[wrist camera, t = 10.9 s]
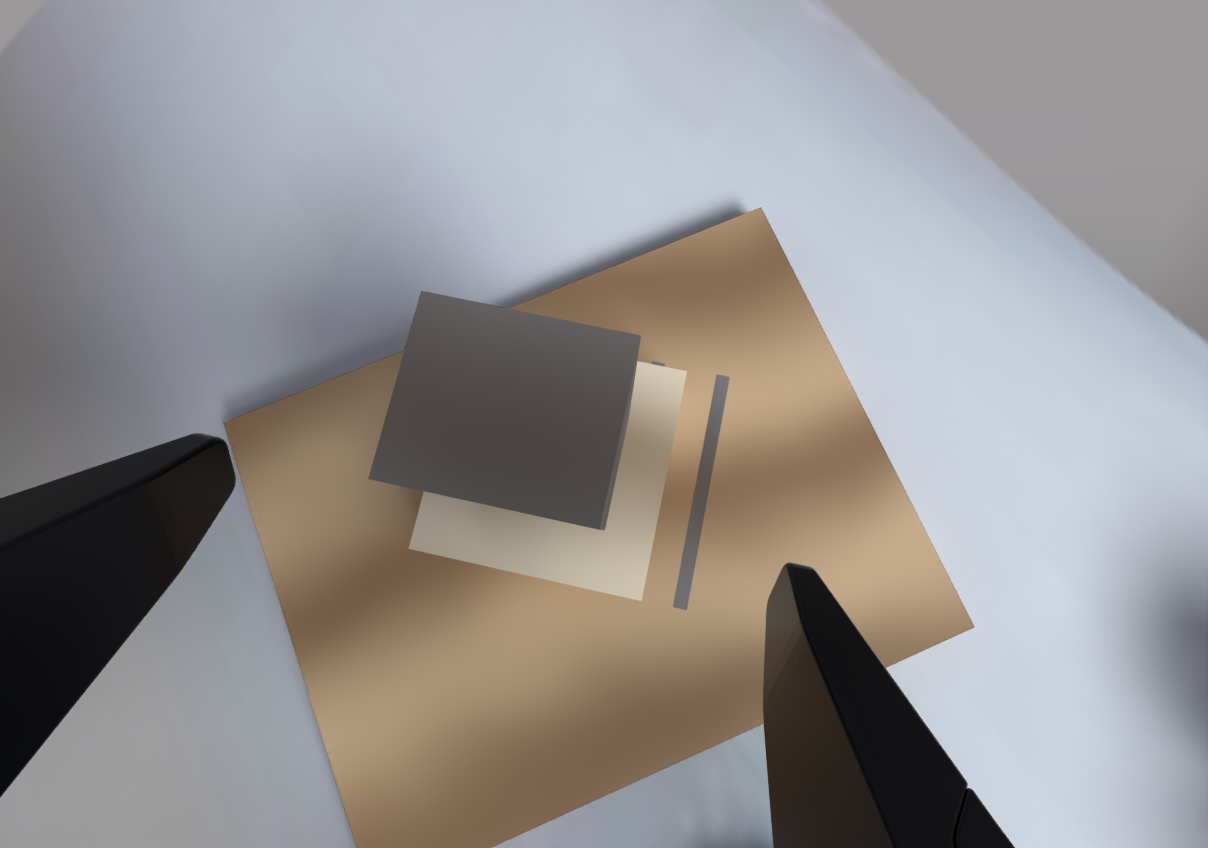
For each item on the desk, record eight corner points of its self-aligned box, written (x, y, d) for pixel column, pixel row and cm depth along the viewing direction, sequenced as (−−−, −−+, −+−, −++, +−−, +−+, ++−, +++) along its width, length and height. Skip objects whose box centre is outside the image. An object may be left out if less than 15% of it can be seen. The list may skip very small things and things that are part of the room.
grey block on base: (637, 591, 17) (664, 656, 8) (436, 546, 18) (256, 562, 9) (677, 392, 18) (738, 261, 9) (485, 352, 19) (370, 189, 10)
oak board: (958, 622, 18) (975, 627, 17) (384, 883, 17) (373, 901, 16) (755, 219, 20) (760, 206, 19) (239, 427, 19) (223, 422, 18)
